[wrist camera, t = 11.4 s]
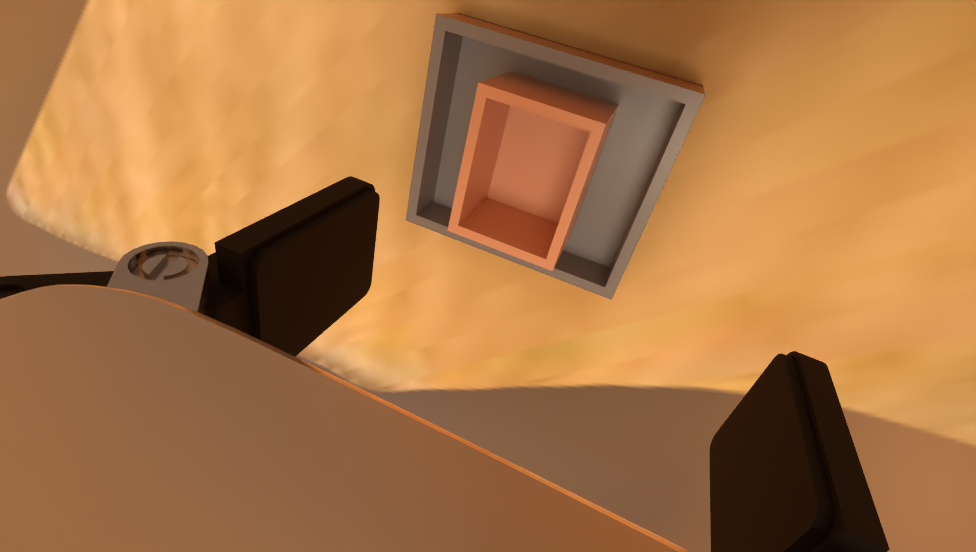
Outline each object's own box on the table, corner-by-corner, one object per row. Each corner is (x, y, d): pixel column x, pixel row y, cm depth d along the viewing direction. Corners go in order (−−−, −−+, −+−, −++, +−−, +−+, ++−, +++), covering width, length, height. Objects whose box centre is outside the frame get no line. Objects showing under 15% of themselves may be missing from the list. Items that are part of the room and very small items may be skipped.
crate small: (511, 70, 30) (478, 82, 25) (618, 104, 29) (606, 124, 24) (480, 199, 35) (447, 230, 30) (571, 233, 34) (552, 271, 29)
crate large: (459, 13, 30) (436, 13, 27) (702, 85, 28) (705, 94, 25) (427, 204, 37) (405, 220, 34) (617, 275, 35) (611, 299, 32)
